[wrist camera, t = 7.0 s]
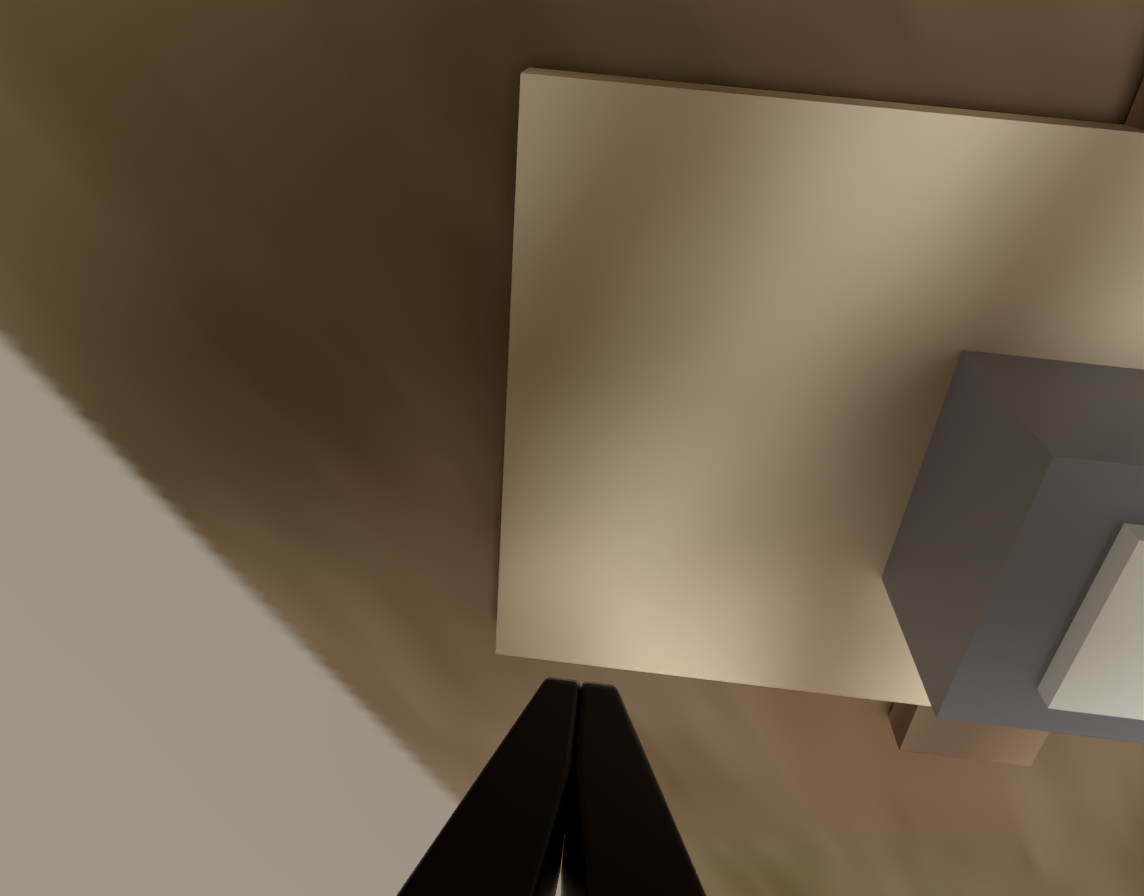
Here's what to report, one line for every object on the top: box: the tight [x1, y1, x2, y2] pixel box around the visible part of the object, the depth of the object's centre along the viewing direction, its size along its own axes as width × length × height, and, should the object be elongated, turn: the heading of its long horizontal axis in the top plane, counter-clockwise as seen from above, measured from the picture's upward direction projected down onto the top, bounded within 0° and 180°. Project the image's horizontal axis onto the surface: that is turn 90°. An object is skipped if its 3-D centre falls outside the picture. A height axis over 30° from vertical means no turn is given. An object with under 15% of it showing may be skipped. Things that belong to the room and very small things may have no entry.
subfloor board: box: [495, 67, 1144, 766], centre depth 15 cm, size 16×15×1 cm
